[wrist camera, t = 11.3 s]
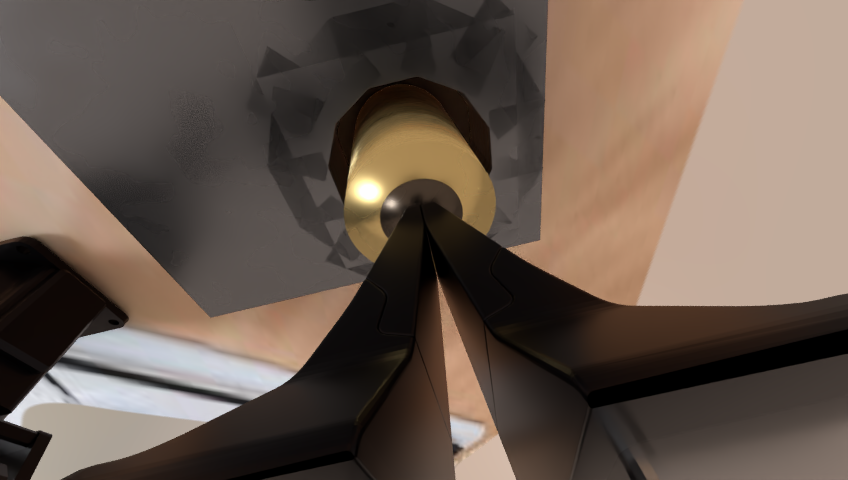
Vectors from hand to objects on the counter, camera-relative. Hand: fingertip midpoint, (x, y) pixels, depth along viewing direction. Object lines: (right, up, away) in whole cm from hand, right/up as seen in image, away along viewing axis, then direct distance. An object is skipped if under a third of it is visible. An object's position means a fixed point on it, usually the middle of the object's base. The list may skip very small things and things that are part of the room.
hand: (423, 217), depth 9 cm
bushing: (-1, +4, +6) cm, 7 cm away
